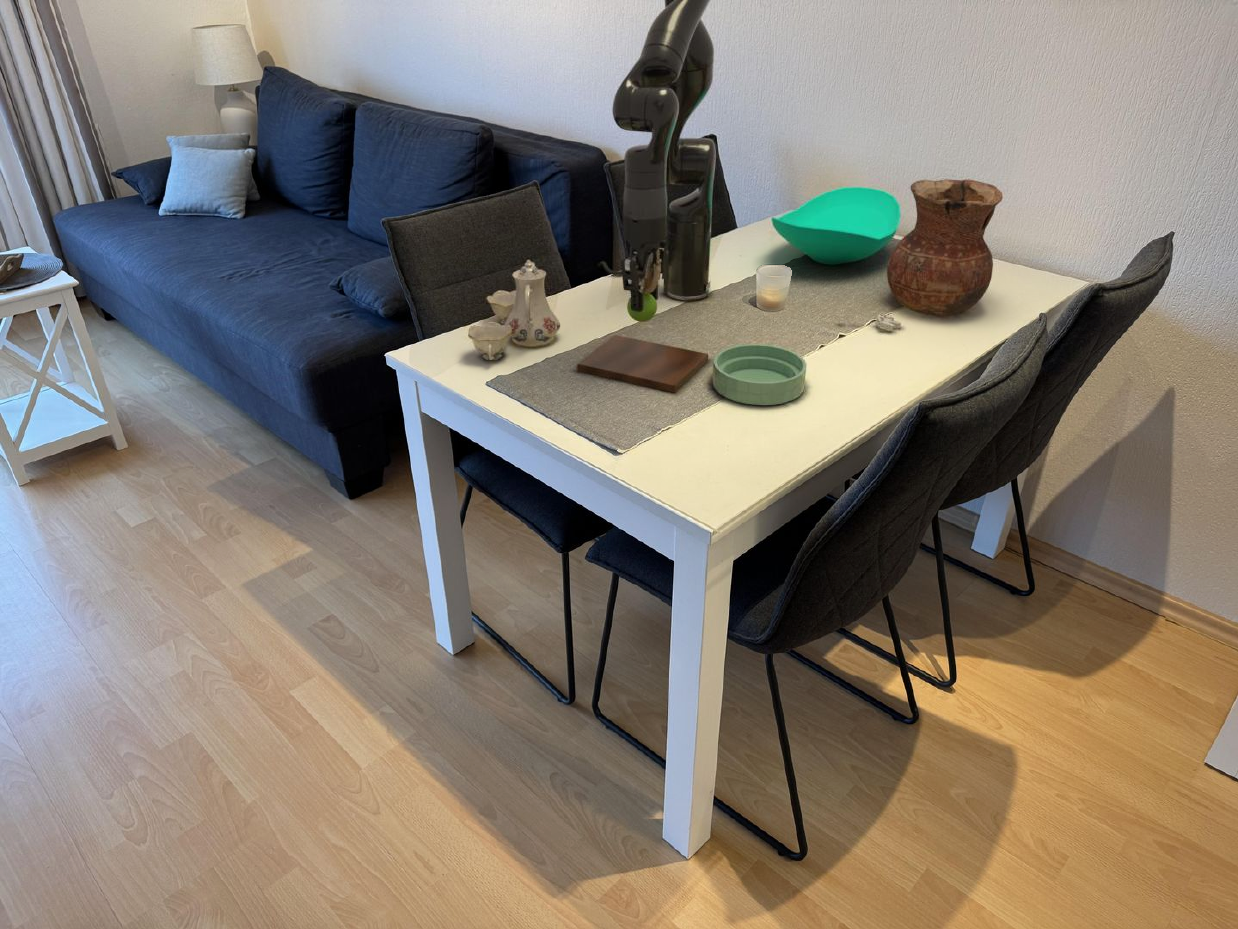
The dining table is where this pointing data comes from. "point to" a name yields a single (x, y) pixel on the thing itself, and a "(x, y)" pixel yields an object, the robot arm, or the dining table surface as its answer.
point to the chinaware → (517, 316)
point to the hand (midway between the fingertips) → (644, 304)
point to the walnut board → (643, 363)
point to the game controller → (886, 322)
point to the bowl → (759, 374)
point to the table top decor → (841, 224)
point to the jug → (945, 248)
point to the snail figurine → (647, 297)
